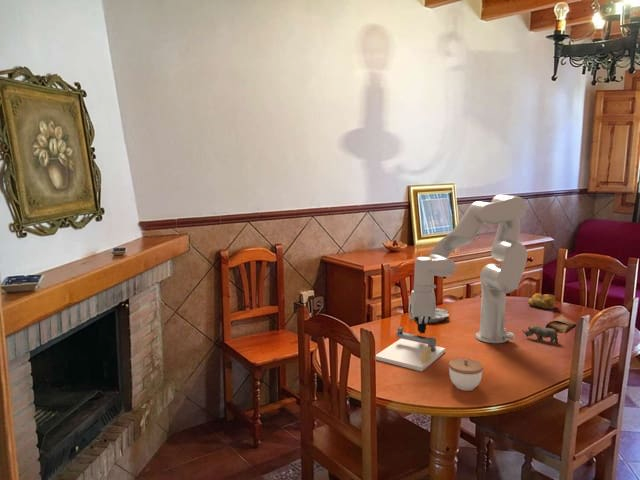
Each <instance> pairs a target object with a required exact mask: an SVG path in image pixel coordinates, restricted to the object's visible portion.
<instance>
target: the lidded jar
mask: <svg viewBox="0 0 640 480" xmlns="http://www.w3.org/2000/svg"><path fill="white" fill-rule="evenodd" d="M483 369H484V368H483V364H482V363H481V362H480V361H477V360H475V359H471V358H465V357H462V358H461V357H460V358H458V357H457V358H454V359H451V360H450V361H448V372H449V378H450V380H451V382H452V384H453V385H454V387H456V388H457V389H458V390H461V391H467V392H469V391H473V390H474V389H475V388H476V387H477V386H478V385H480V383H481V381H482V377H483Z"/></svg>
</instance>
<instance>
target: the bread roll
mask: <svg viewBox="0 0 640 480" xmlns="http://www.w3.org/2000/svg"><path fill="white" fill-rule="evenodd" d="M527 303H528V305H529V306H531V307H532V308H539V309H541V310H542V309H543V310H552V309H554V308H555V306H556V296H555V295H553V294H551V293H550V294H549V293H547V294H542V293H539V292H538V293H536V292H535V294H533V295H532V297H530V299H528V301H527Z"/></svg>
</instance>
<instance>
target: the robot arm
mask: <svg viewBox="0 0 640 480" xmlns="http://www.w3.org/2000/svg"><path fill="white" fill-rule="evenodd" d="M527 210H528V204H527V202H526V200H525V199H524V198H523V197H521V196H517V195H510V194H497V195H495V196H493V198H492V200H491V202H487V201H481V200H477V201H474V202H473V203H471V204H470V205H469V207H468V208H467V209H466V211H465V212H464V214H463V215H462V216H461V218H460V220H459V221H458V223H457V224H456V225H455V227H454V228H453V230H452V231H451V232H449V233H448V234H447V235H445V236H444V237H443V238H442V239H440V240H439V241H438V242H437V243H436V244H435V246H434V247H433V249H432V250H431V252H430V253H429V255H428V256H418V257H416V258H415V260H414V276H413V277H414V279H413V290H411V293H410V296H409V300H408V313H409V315H408V317H409V319H410V320H414V321H416V322H417V329H416V330H417V331H418V332H419V334H425V333H426V330H427V324H428V323H427V322H428V321H429V320H430V319H432V318H435V313H436V308H437V305H436V303H437V301H436V295H435V294H436V293H435V290H434V289H436V288H437V285H436V284H434V277H436V276H437V277H443V278H444V277H450V276H452V275H453V274H454V273H455V271H456V270H457V269H456V268H457V267H456V263H455V262H454V261H453V260H452V259H451V258H449V256H450V255H451V254H452V253H453V252H454V251H455V250H456V249H458V248H461V247H463V246H467V245H468V244H470V243H472V242H473V241H474V239H475V238H476V236H477V235H478V233H479V232H480V230H481V228H482V227H483V226H484V225H487V226H489V225H490V226H491V225H497V230H496V234H495V237H494V240H493V243H492V246H491V250H490V252H491V253H490V255H491V257H492V258H493V259H494V260H496V261H498V262H501V265H500V264H498V263H488V264H486V265H485V266H483V268H482V269H481V271H480V276H479V277H480V286H481V300H480V301H481V302H480V303H481V304H480V320H479V321H480V322H479V324H480V325H479V331H478V332H476V333H475V338H476V339H477V340H479V341H481V342H484V343H488V344H503V343H506V342H507V341H508V339H510V340H515V337H516V336H515V334H514V333H513V332H508V331H507V328H506V327H505V322H506V304H507V298H506V297H507V294H509V293H512V292H515V290H516V289H517V288H518V286H519V284H520V282H521V280H522V277H523V274H524V271H525V267H526V264H527V261H528V251H527V248H526V246H525V245H523V244H522V243H521V242H518V240H519V237H520V233H521V224H522V223H521V219H520V218H521V217H523V216H524V215H525V214H526V212H527ZM422 316H423V318H422V319H421V317H422Z"/></svg>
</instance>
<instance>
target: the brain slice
mask: <svg viewBox="0 0 640 480" xmlns="http://www.w3.org/2000/svg"><path fill="white" fill-rule="evenodd" d="M448 316H450V311H449V310H447V309H443V308H440V307H436V313H435V318H432V319H430V320H429V321H428V322H427V324H428V323H429V324H434V323H438V322H441V321H444V320H445V319H446V318H447V317H448ZM422 318H423V316H422V317H421V319H422Z"/></svg>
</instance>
